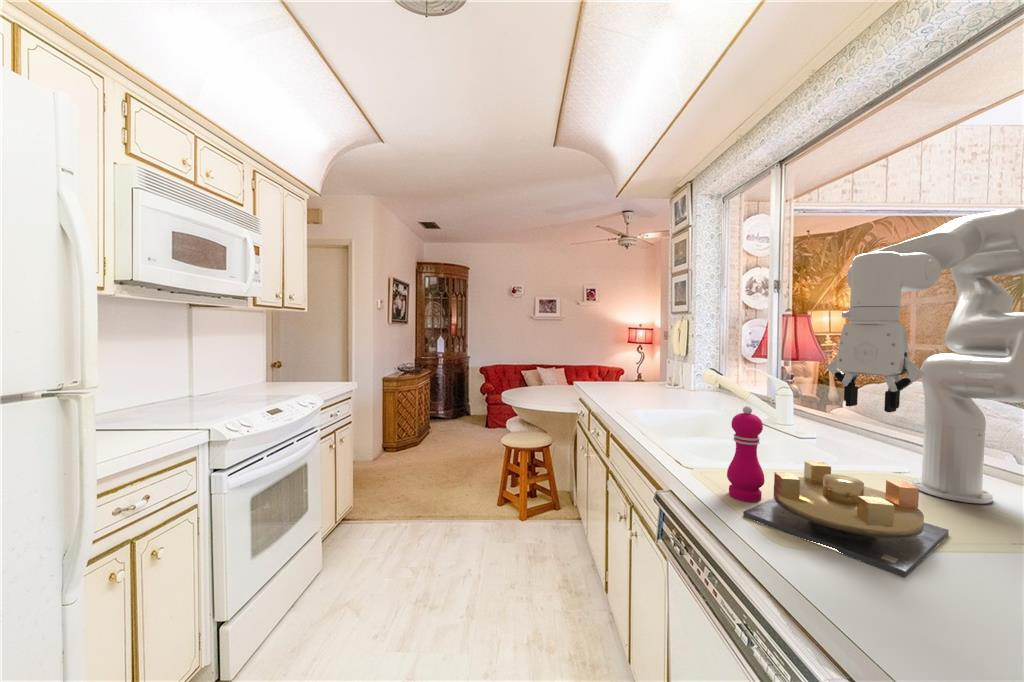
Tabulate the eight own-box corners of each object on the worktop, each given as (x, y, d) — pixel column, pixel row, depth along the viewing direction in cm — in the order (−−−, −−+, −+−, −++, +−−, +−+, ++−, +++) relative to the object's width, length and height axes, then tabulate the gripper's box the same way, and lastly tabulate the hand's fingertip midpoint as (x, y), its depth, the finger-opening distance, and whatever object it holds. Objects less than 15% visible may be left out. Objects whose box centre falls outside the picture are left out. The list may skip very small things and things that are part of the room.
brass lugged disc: (803, 479, 95) (804, 454, 95) (939, 516, 76) (941, 486, 76) (751, 501, 83) (752, 473, 83) (899, 552, 64) (900, 516, 64)
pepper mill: (769, 505, 89) (772, 410, 88) (732, 501, 90) (734, 408, 89) (756, 491, 96) (759, 403, 95) (722, 489, 97) (724, 402, 96)
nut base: (799, 490, 96) (800, 477, 96) (948, 535, 76) (949, 518, 76) (743, 516, 83) (743, 501, 83) (905, 578, 63) (905, 558, 63)
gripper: (815, 316, 88) (812, 402, 89) (924, 315, 73) (919, 419, 74) (833, 317, 92) (830, 400, 93) (941, 316, 77) (937, 415, 78)
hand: (870, 407), depth 83 cm, fingers open, 5 cm apart
